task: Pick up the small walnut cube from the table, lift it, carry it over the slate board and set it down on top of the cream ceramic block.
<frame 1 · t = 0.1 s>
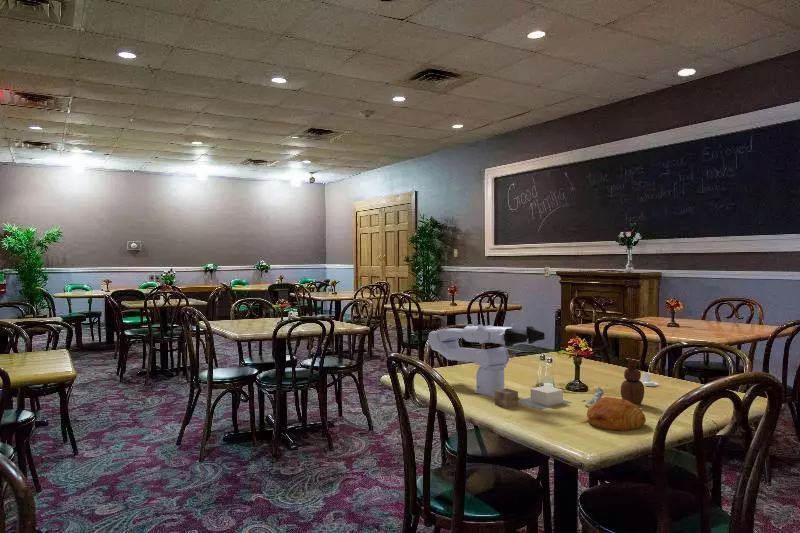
hand: (535, 337, 175), 22 cm above the table, fingers open, 7 cm apart
croissant: (613, 425, 157), on the table
cream block: (546, 401, 179), point 1 cm above the table, touching slate board
slate board: (542, 403, 179), on the table
walnut cube: (506, 407, 176), on the table
soldier figure: (594, 406, 177), on the table
wooden figurine: (632, 405, 177), on the table
teacup and saucer: (639, 386, 204), on the table
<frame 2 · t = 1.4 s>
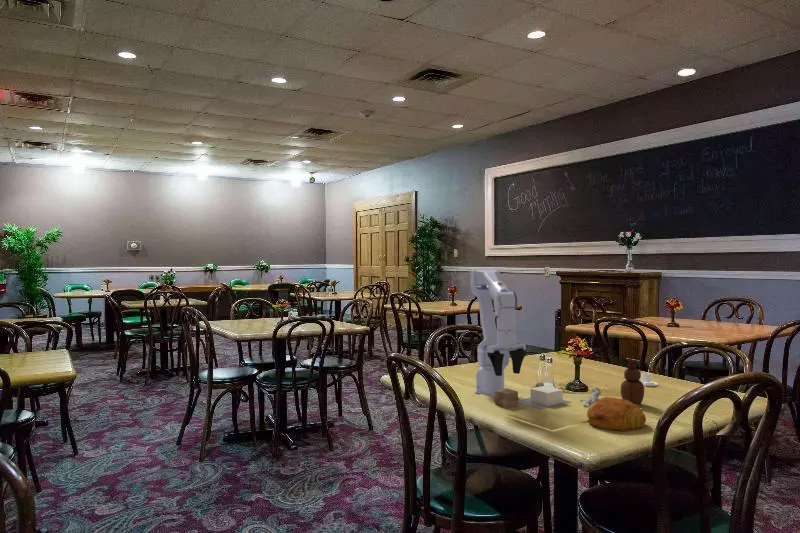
hand: (507, 374, 176), 10 cm above the table, fingers open, 7 cm apart
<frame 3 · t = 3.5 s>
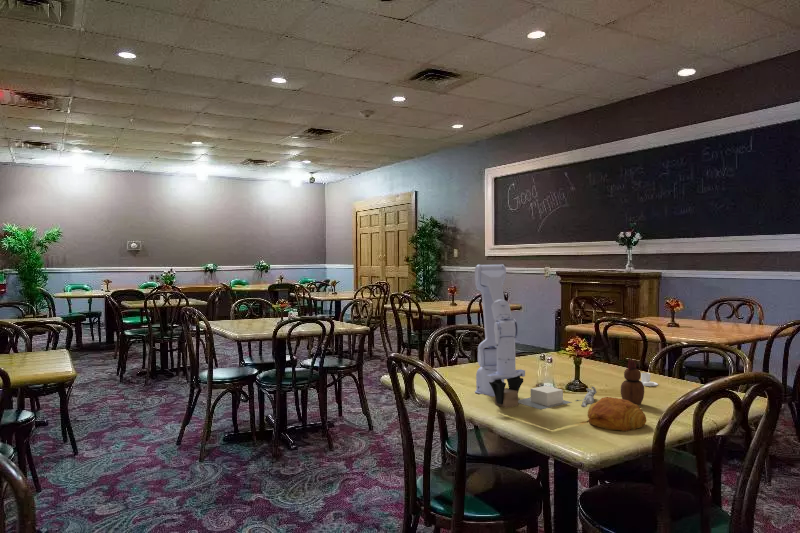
hand: (506, 402, 176), 1 cm above the table, fingers closed on walnut cube, 5 cm apart
walnut cube: (506, 406, 176), on the table, touching gripper
soldier figure: (588, 405, 178), on the table
everything else where it was.
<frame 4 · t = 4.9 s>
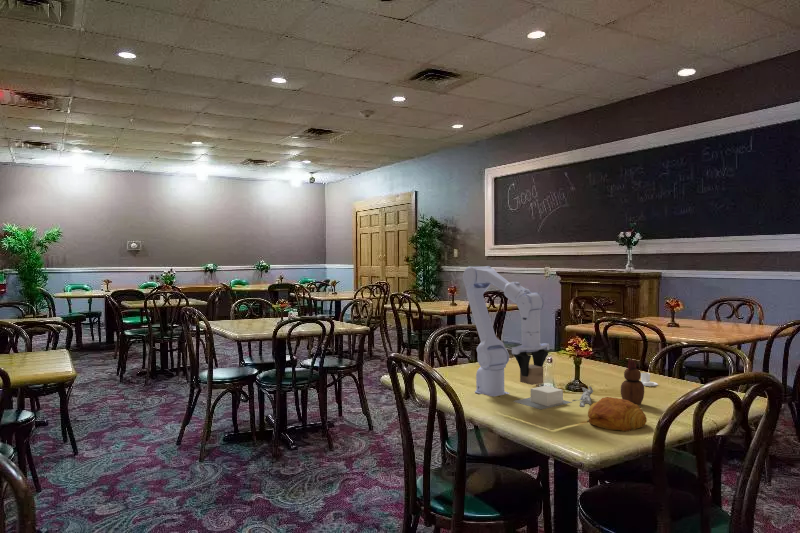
hand: (531, 374, 178), 9 cm above the table, fingers closed on walnut cube, 5 cm apart
walnut cube: (531, 382, 177), point 7 cm above the table, touching gripper
when the fingers open (7 cm above the table, at t = 6.6 s): walnut cube stays where it is, resting on cream block.
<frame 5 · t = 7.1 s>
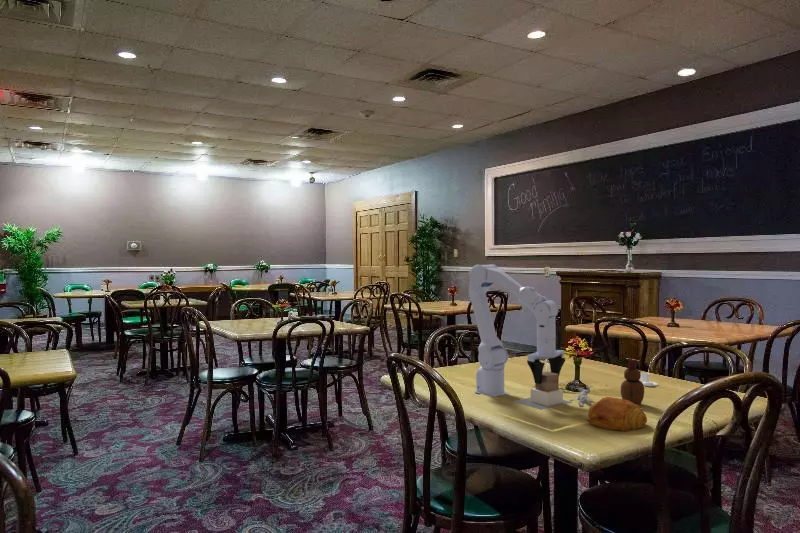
hand: (546, 381, 179), 7 cm above the table, fingers open, 7 cm apart
cream block: (546, 401, 179), point 1 cm above the table, touching slate board, walnut cube
walnut cube: (547, 389, 179), point 5 cm above the table, touching cream block
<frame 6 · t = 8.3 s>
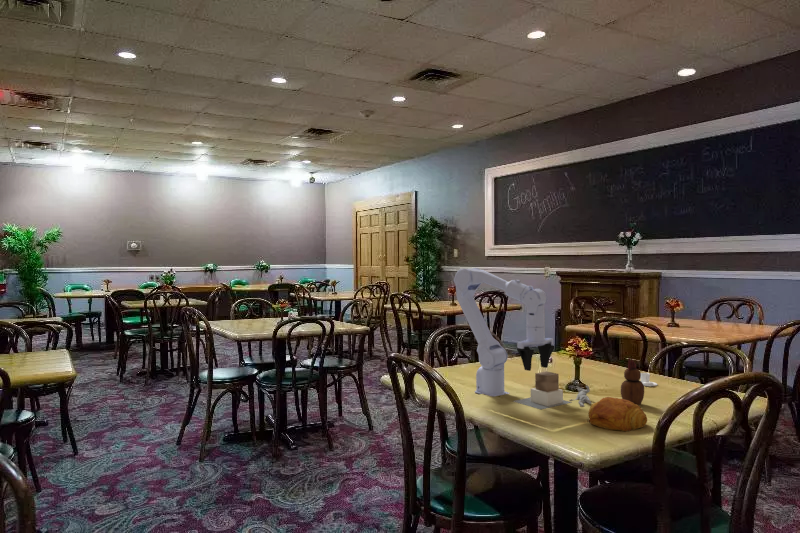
hand: (536, 368, 182), 10 cm above the table, fingers open, 7 cm apart
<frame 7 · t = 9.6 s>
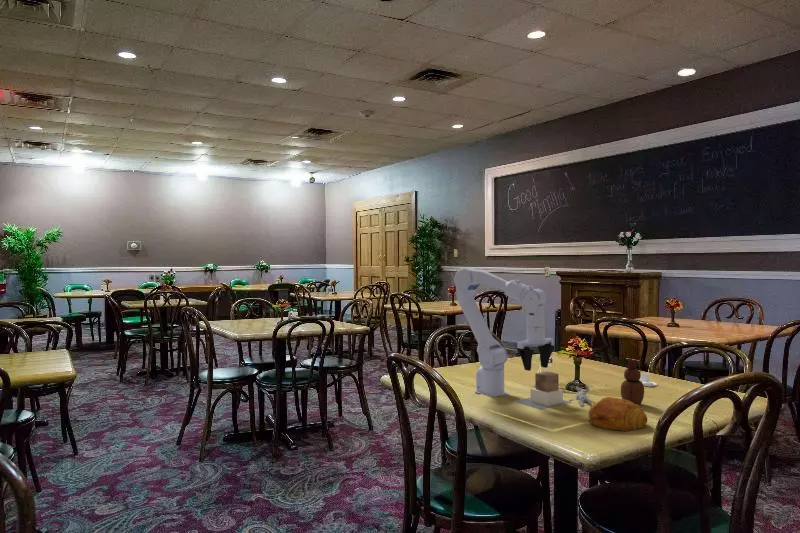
hand: (536, 368, 182), 10 cm above the table, fingers open, 7 cm apart
soldier figure: (582, 404, 179), on the table, touching slate board
everything else where it was.
at the end: walnut cube 0.1 cm off-centre on the cream block, point 4.0 cm above the cream block's base; walnut cube tilted 0°; the gripper is holding nothing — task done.
